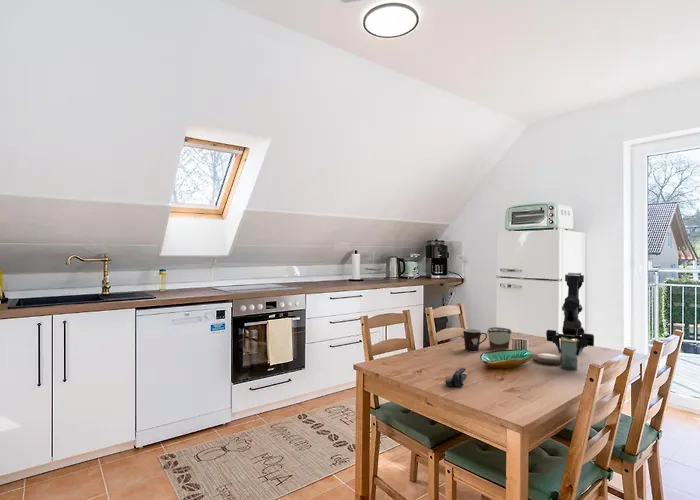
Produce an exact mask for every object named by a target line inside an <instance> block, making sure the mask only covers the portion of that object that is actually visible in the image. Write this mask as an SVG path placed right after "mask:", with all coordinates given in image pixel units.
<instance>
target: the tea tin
mask: <svg viewBox="0 0 700 500" xmlns="http://www.w3.org/2000/svg"><path fill="white" fill-rule="evenodd" d="M559 341H560V353H559V354H560V355H559V356H560V364H559V368H560V369H562V370H564V371H565V370H566V371H571V372H572V371H573V372H574V371H577V370H578V356H577V350H578V339H576V338H572V337H561V338H559Z"/></svg>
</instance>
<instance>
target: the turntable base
mask: <svg viewBox="0 0 700 500" xmlns="http://www.w3.org/2000/svg"><path fill="white" fill-rule="evenodd" d="M535 361H536V362H538V363H540V364H545V365H560V363H547V362H541V361H538V360H535Z"/></svg>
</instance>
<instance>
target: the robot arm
mask: <svg viewBox="0 0 700 500" xmlns="http://www.w3.org/2000/svg"><path fill="white" fill-rule="evenodd" d="M564 282H566V286H567V287H568V288H567V289H568V290H567V296H566V297H565V298H564V303H563V302H562V304H561V311H563V324H562V331H561V332H562V333H559V332H557V330H555V329H547V330H546V332H545V337H546V341H547V342H552V343H553V344H555V346H556V348H557V351H558V353H559V354H560V350H561V340H560V338H561V337H572V338H576V339H578V350H577V357H578V356H579V355H580V354H581V352H583V350H584V349H585V348H588V346H589V347H594V346H595V335H594V334H593V333H586V332H585V329H584V327H583V326H582V321H581V320H580V319H579V315H580V313H582V311H583V306H582V304H580V303H581V302H580V298H579V297H580V296H579V294H580V289H581V287H582V286H583V283H584V282H585V275H584V274H582V272H570V271H569V272H567V274H565V275H564Z"/></svg>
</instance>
